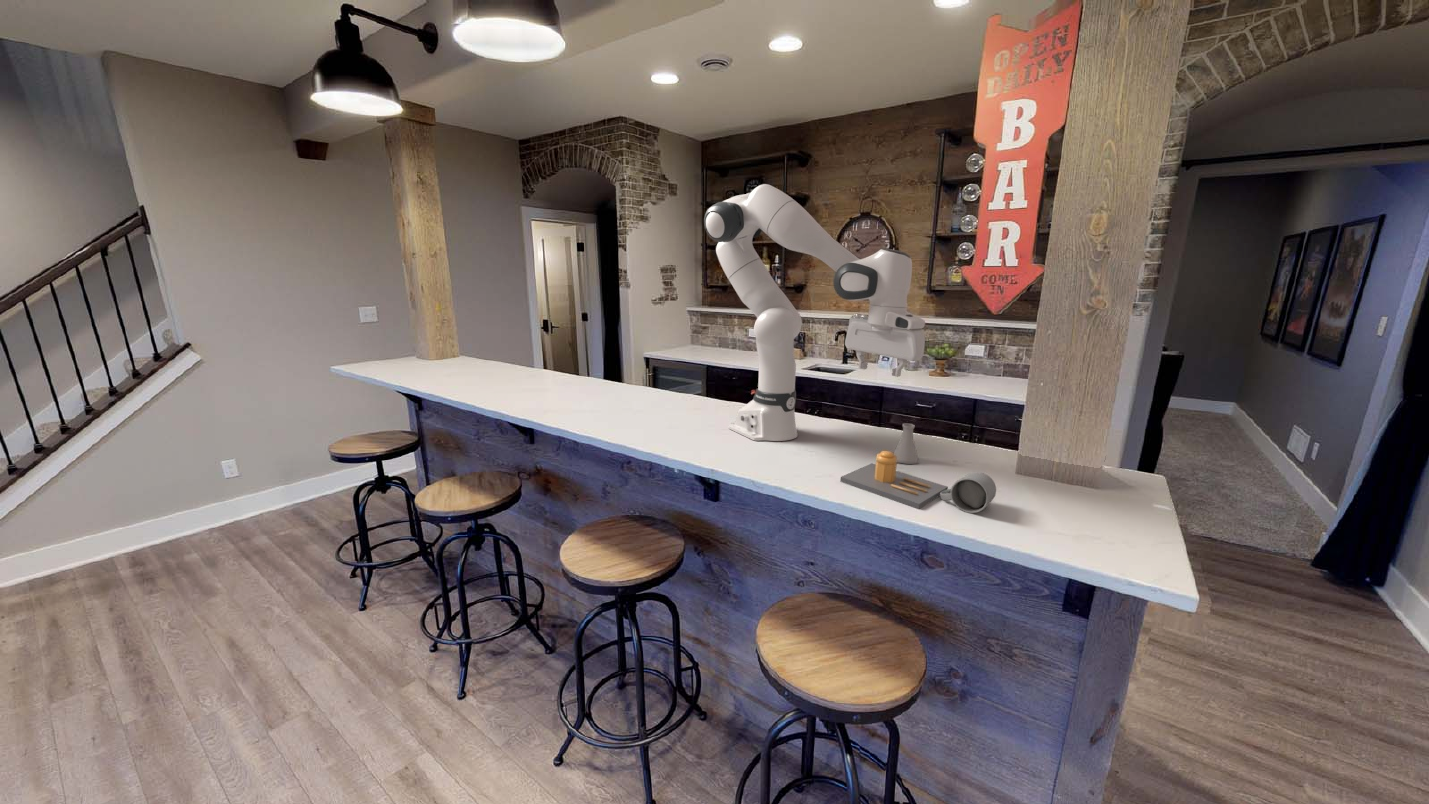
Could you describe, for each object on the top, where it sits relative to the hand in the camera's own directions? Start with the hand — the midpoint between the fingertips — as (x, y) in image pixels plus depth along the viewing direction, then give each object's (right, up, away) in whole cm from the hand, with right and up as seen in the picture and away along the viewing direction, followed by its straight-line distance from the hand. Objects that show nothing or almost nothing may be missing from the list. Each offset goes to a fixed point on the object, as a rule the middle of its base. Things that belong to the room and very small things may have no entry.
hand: (878, 372), depth 135 cm
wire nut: (-1, -26, -7) cm, 27 cm away
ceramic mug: (+14, -31, -17) cm, 38 cm away
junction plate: (+1, -28, -8) cm, 29 cm away
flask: (+10, -24, +10) cm, 27 cm away
